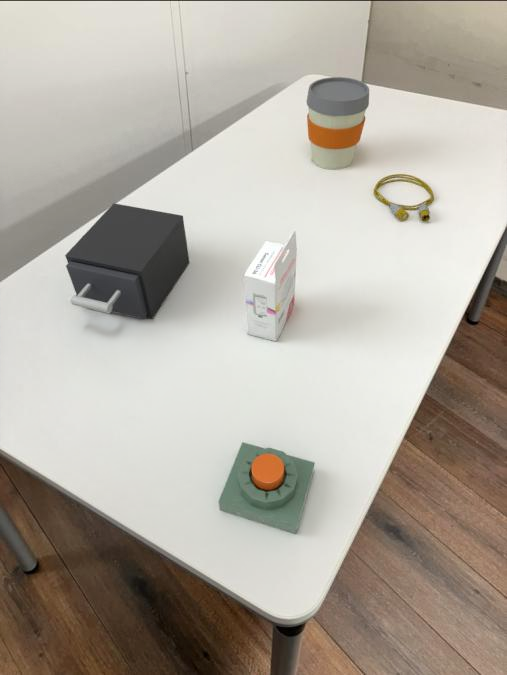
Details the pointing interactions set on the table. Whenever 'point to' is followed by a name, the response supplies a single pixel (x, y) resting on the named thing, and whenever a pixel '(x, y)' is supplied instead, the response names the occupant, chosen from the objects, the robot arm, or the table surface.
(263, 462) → the button
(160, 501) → the table surface
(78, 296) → the drawer
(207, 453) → the table surface
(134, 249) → the black hollow box
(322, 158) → the reusable coffee cup
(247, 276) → the ink cartridge box
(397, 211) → the extension cord
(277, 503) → the control box
